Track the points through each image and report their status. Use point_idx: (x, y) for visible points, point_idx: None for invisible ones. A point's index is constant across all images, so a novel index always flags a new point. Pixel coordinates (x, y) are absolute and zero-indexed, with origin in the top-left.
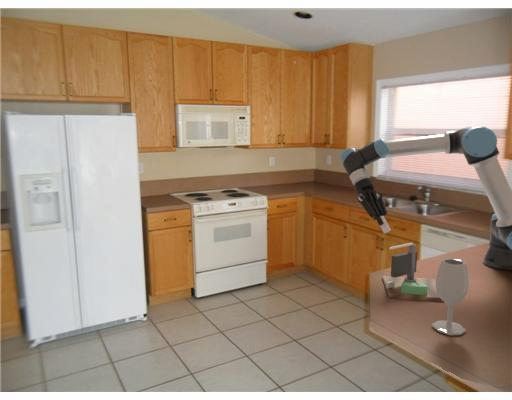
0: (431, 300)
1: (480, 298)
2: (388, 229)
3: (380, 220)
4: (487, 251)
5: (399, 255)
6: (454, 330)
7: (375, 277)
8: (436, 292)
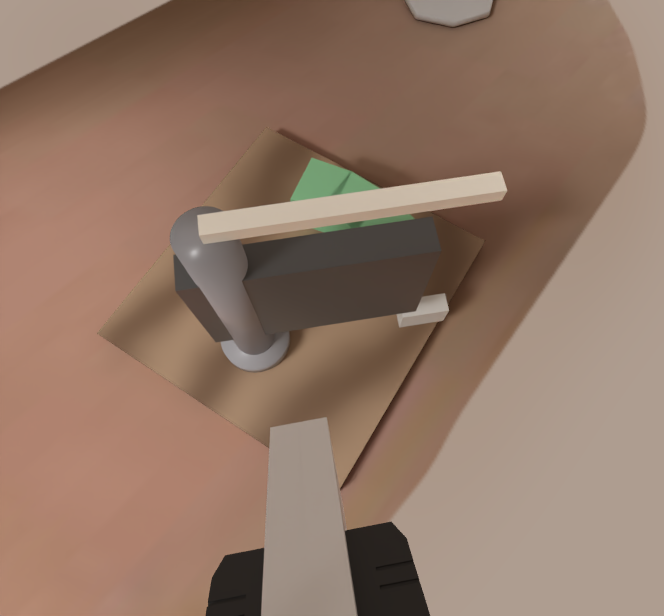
0: None
1: (106, 116)
2: (318, 427)
3: (398, 586)
4: None
5: (380, 232)
6: None
7: None
8: (251, 185)
